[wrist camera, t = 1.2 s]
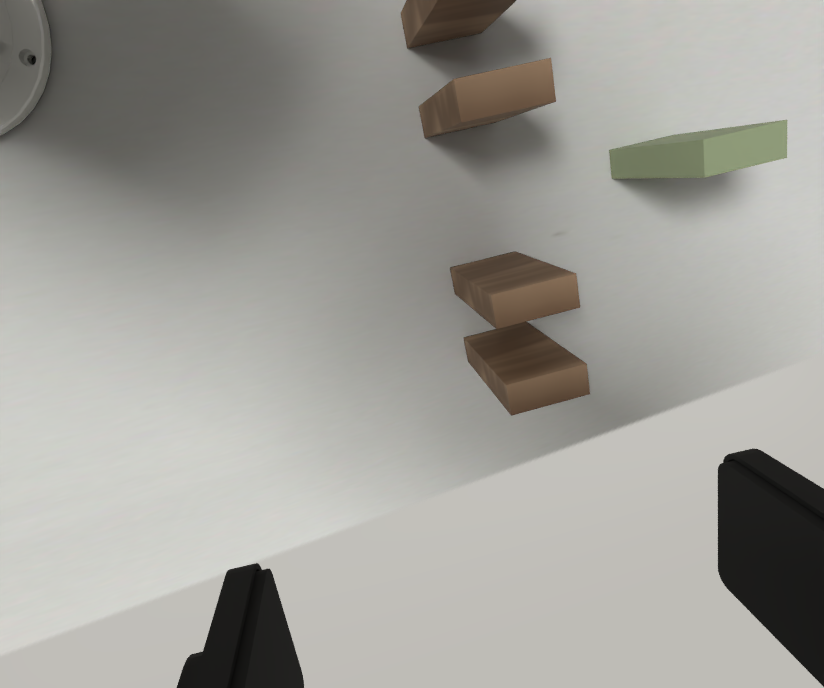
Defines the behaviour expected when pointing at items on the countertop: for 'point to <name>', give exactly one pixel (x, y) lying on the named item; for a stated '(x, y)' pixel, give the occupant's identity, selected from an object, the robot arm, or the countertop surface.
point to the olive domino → (701, 152)
